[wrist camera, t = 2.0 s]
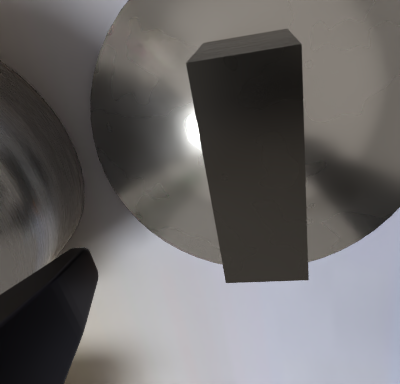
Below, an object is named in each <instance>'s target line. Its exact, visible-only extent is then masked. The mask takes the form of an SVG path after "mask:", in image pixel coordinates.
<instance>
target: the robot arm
mask: <svg viewBox="0 0 400 384" xmlns="http://www.w3.org/2000/svg"><path fill="white" fill-rule="evenodd" d="M97 281H98V271H97V268H96V266H95V263H94V261H93V258H92V256H91V253H90V251H89V250H88V249H87V248H72V249H70V250H68V251H67V252H65V253H64V254H62V255H61V256H59V257H57V258H56V259H54V260H53V261H51V262H50V263H48V264H47V265H45V266H44V267H42V268H41V269H39V270H38V271H36V272H34V273H33V274H31V275H30V276H28V277H27V278H25V279H24V280H22V281H21V282H19V283H18V284H16V285H14V286H13V287H11V288H10V289H8V290H7V291H5V292H4V293H2V294H1V295H0V384H64V382H65V379H66V377H67V374H68V371H69V369H70V366H71V364H72V361H73V359H74V356H75V353H76V351H77V348H78V346H79V343H80V340H81V338H82V335H83V332H84V329H85V325H86V322H87V318H88V315H89V311H90V307H91V304H92V300H93V296H94V293H95V289H96V285H97Z"/></svg>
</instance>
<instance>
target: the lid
mask: <svg viewBox="0 0 400 384" xmlns="http://www.w3.org/2000/svg"><path fill="white" fill-rule="evenodd" d="M91 124H92V131H93V138H94V142H95V146H96V149H97V153H98V157H99V160H100V162H101V164H102V167H103V169H104V172H105V174H106V176H107V178H108V180H109V182H110V183H111V185H112V187H113V189H114V191H115V192H116V194H117V195H118V196H119V198H120V199H121V201H122V202H123V203H124V205H125V206H126V207H127V208H128V210H129V211H130V212H131V213H132V214H133V215H134V216H135V217H136V218H137V219H138V220H139V221H140V222H141V223H142V224H143V225H144V226H145V227H147V228H148V229H149V230H150V231H151V232H152V233H154V234H155V235H157V236H158V237H160V238H161V239H162V240H164V241H165V242H167V243H169V244H170V245H172V246H174V247H176V248H178V249H180V250H181V251H184V252H186V253H188V254H191V255H193V256H195V257H198V258H201V259H204V260H207V261H210V262H214V263H218V264H223V269H224V274H225V280H226V283H238V282H266V281H294V280H308V262H310V261H314V260H317V259H320V258H323V257H326V256H328V255H331V254H333V253H336V252H338V251H340V250H342V249H344V248H346V247H348V246H350V245H352V244H354V243H356V242H357V241H359V240H361V239H362V238H364V237H365V236H366V235H368V234H369V233H371V232H372V231H374V230H375V229H376V228H378V227H379V226H380V225H381V224H382V223H383V222H385V221H386V220H387V219H388V218H389V217H390V216H392V214H393V213H394V212H395V211H396V210H397V209H398V208H399V207H400V0H129V1H128V2H127V3H126V4H125V6H124V7H123V8H122V9H121V11H120V13H119V14H118V16H117V18H116V19H115V21H114V23H113V24H112V26H111V28H110V29H109V31H108V33H107V36H106V38H105V41H104V43H103V45H102V48H101V50H100V53H99V56H98V60H97V63H96V67H95V71H94V75H93V82H92V90H91Z"/></svg>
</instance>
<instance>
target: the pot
mask: <svg viewBox="0 0 400 384" xmlns="http://www.w3.org/2000/svg"><path fill="white" fill-rule="evenodd" d="M83 203H84V183H83V177H82V171H81V167H80V164H79V161H78V157H77V154H76V152H75V150H74V147H73V145H72V143H71V140H70V138H69V136H68V135H67V133H66V131H65V129H64V128H63V126H62V124H61V123H60V121H59V119H58V118H57V117H56V115H55V114H54V113H53V111H52V110H51V108H50V107H49V106H48V104H47V103H46V102H45V101H44V100H43V99H42V98H41V97H40V95H39V94H38V93H37V92H36V91H35V90H34V89H33V88H32V87H31V86H30V85H29V84H28V83H27V82H26V81H25V80H23V79H22V78H21V77H20V76H19V75H18V74H17V73H15V72H14V71H13V70H11V69H10V68H9V67H7V66H6V65H5V64H3V63H2V62H1V61H0V295H1V294H2V293H4V292H5V291H7V290H8V289H10V288H11V287H13V286H14V285H16V284H18V283H19V282H21V281H22V280H24V279H25V278H27V277H28V276H30V275H31V274H33V273H34V272H36V271H38V270H39V269H41V268H42V267H44V266H45V265H47V264H48V263H50V262H51V261H53V260H54V259H55V258H56V257H57V255H58V254H59V253H60V251H61V250H62V249H63V247H64V246H65V244H66V243H67V242H68V240H69V239H70V237H71V236H72V235H73V233H74V231H75V230H76V228H77V226H78V224H79V221H80V218H81V215H82V211H83Z"/></svg>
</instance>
